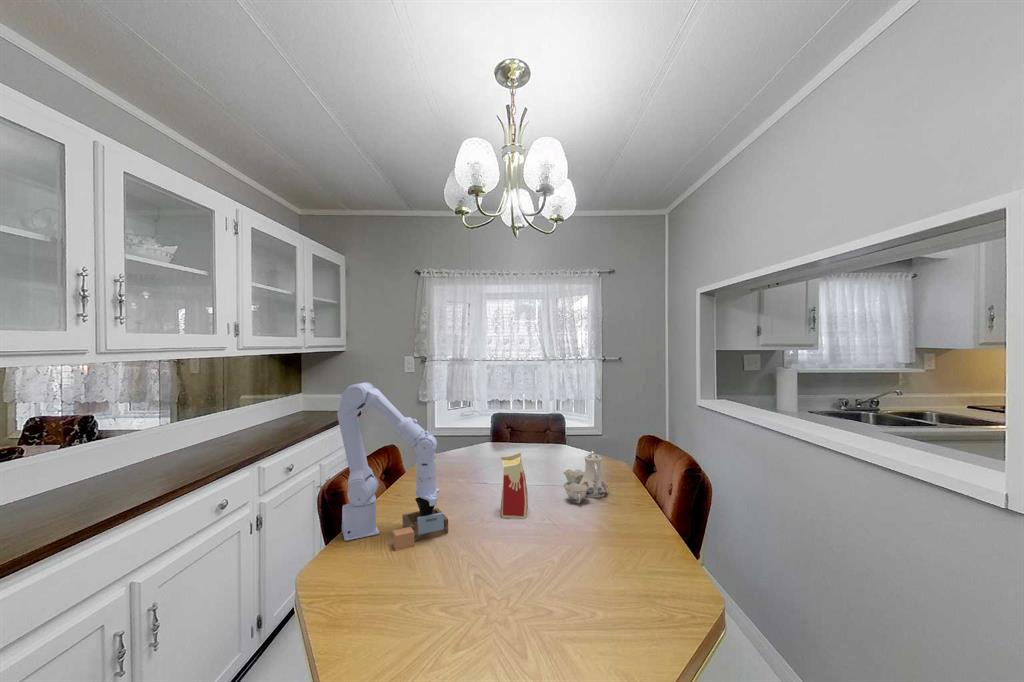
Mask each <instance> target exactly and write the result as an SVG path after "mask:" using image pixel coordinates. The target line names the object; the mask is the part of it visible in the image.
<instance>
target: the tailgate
mask: <svg viewBox="0 0 1024 682" xmlns="http://www.w3.org/2000/svg"><path fill="white" fill-rule="evenodd" d="M441 512H442V511H441ZM444 515H445V513H444V512H442V513H437V514H432V515H427V516H422V517H417V534H418V535H420V534H424V533H429V532H433V531H438V530H442V529H444Z"/></svg>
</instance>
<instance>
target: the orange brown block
mask: <svg viewBox="0 0 1024 682" xmlns="http://www.w3.org/2000/svg"><path fill="white" fill-rule="evenodd" d="M392 547H393V548H394V551H400V550H404V549H408V548H412V547H415V540H414V531H413V529H412V528H411V527H407V528H403V527H402V528H399V529H393V530H392Z"/></svg>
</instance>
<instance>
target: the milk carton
mask: <svg viewBox="0 0 1024 682" xmlns="http://www.w3.org/2000/svg"><path fill="white" fill-rule="evenodd" d="M499 458H500V459H501V462H502V466H503V474H502V475H503V476H502V479H503V480H502V491H501V492H502V493H501V500H500V502H501V503H500V508H499V509H500V510H499V513H500V516H501V518H502V519H520V520H526V518H527V514H528V511H529V495H528V485H527V479H526V473H525V470H524V465H523V462H522V452H518V453H516V454H512V455H506V456H499Z"/></svg>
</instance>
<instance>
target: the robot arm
mask: <svg viewBox="0 0 1024 682" xmlns="http://www.w3.org/2000/svg"><path fill="white" fill-rule="evenodd" d="M340 398H341V400H340V403H339V406H338V410H337V413H336V416H337V420H338V424H339V430H340V434H341V439H342V443H343V447H344V451H345V456H346V461H347V465H348V469H349V475H348V480H347V484H348V485H347V486H348V489H347V494H346V495H347V500H348V502H349V503H347V504H343V505H342V510H341V513H342V514H341V518H342V519H341V533H342V536H343V540H344V541H345V542H347V541H352V540H356V539H361V538H366V537H370V536H371V537H372V536H377V535H379V534H380V531H379V529H378V527H377V497H376V495H375V494H376V492H377V491H378V489H379V481H378V479H377V477H376V476H375V475H374V472H373V469H372V468H371V467H370V466H369V463H368V458H367V454H366V450H365V445H364V441H363V437H362V432H361V428H360V424H359V423H360V422H359V418H358V415H359V414H360V413H361V410H362V409H364V407H366V408H373V409H376V410H377V411H379V412H380V413H381V414H382V415H384V416H385V417H386V418H387V419H388V420H390V422H392V423H393V425H395V427H396V432H397V433H398V434H399V435H400V436H401V437H402V438H403V439H404V440H405V442H407V443H408V444H409V445H410V446H411V447H413V450H414V454H416V465H415V467H416V472H415V473H416V474H415V475H416V480H415V482H416V486H415V488H416V489H415V496H416V498H414V499H415V500H414V501H415V502H416V504H417V506H418V509H419V510H418V511H420V515H421V517H422V516H427V515H432V512H433V509H434V508H435V506H437V505H438V498H437V494H438V493H440V492H441V490H440V488H438V487H437V460H436V458H437V457H436V456H437V455H436V449H437V447H438V441H437V438H436V437H435V435H434V434H432V433H430V432H429V431H428V430H425V428H423V427H422V426H420V425H419V424H418V420H417V418H412V417H411V416H410V417H409V416H408V417H405V415H403V414H402V413H401V411H399V410H398V409H397V408H396V406H395V405H393V404H392V403H391V401H389V400H388V398H387V397H386V396H385V395H384V394H383V393H382V392H381V391H380V389H378V388H377V387H375V386H374V385H373V384H372V383H370V382H368V381H367V382H366V381H364V382H363V381H362V382H360V383H354V384H350V385H349V386H347V388H346V389H344V391H343V392H342V393H341V397H340Z"/></svg>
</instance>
